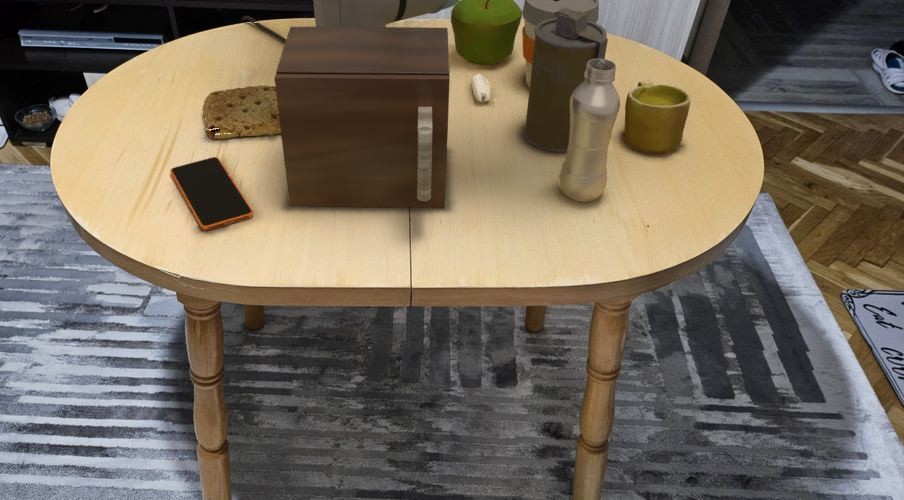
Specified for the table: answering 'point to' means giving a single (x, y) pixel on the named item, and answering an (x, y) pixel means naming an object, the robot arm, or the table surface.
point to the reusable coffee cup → (541, 9)
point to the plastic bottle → (590, 132)
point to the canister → (559, 74)
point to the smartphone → (211, 193)
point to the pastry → (242, 112)
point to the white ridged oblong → (481, 88)
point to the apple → (485, 29)
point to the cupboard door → (364, 139)
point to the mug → (655, 117)
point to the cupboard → (365, 51)
